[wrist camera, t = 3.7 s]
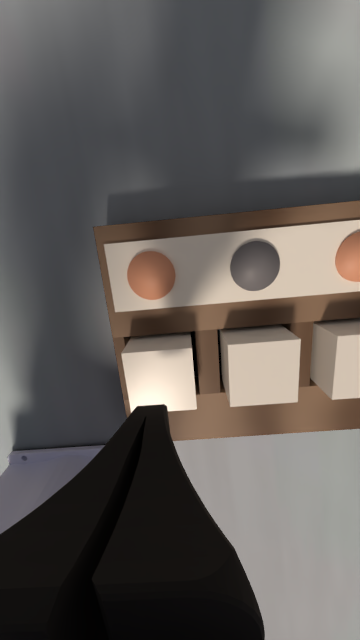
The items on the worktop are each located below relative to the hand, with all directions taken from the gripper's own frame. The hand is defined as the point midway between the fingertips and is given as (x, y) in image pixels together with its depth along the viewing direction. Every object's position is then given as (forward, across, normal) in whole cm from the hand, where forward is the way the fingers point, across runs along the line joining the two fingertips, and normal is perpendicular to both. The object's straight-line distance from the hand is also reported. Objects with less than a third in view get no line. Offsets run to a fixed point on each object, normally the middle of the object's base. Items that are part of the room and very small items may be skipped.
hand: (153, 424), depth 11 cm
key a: (+7, 0, 0) cm, 7 cm away
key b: (+7, -6, 0) cm, 9 cm away
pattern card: (+6, -6, -6) cm, 10 cm away
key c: (+7, -12, 0) cm, 14 cm away
